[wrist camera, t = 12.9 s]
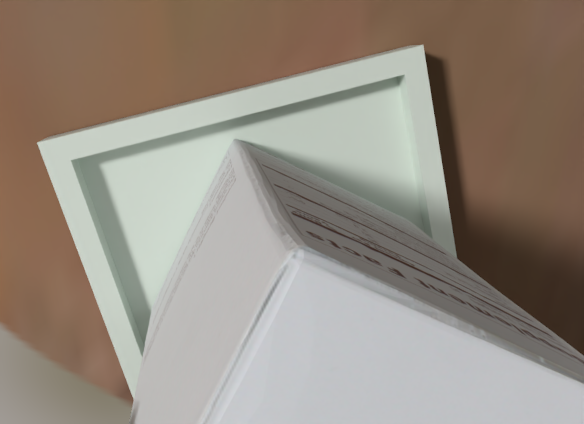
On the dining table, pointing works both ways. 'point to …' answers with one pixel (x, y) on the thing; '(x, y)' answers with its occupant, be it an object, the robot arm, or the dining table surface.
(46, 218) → the dining table surface
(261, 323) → the supplement box
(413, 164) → the pale green square tray
